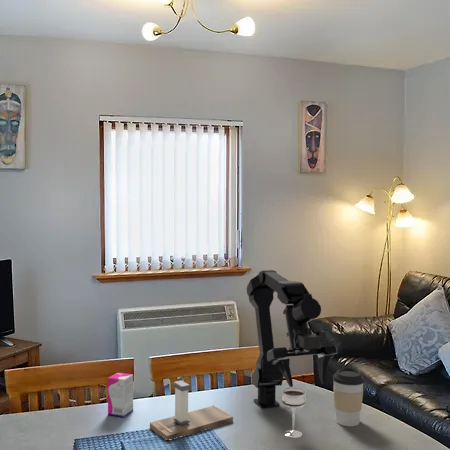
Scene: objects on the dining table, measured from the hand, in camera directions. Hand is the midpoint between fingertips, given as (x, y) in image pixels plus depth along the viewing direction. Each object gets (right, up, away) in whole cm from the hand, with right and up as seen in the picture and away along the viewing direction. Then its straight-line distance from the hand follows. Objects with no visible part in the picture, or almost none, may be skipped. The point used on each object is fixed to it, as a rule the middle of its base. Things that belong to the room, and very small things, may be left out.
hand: (307, 385), depth 143 cm
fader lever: (-34, -13, +10) cm, 38 cm away
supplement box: (-54, -15, +20) cm, 59 cm away
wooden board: (-32, -15, +12) cm, 37 cm away
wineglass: (-3, -16, +7) cm, 18 cm away
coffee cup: (+14, -16, +16) cm, 26 cm away
